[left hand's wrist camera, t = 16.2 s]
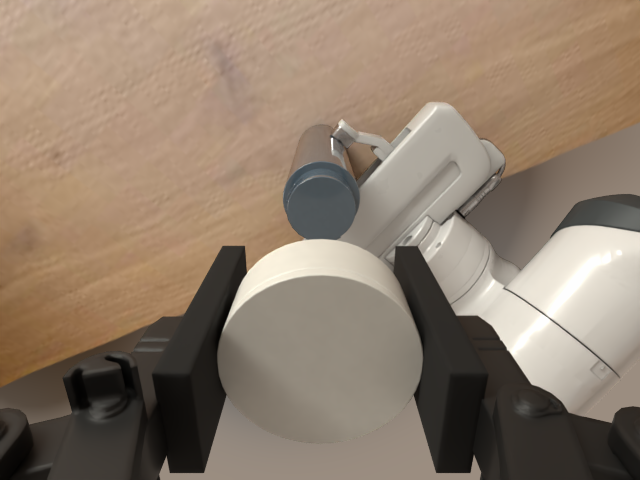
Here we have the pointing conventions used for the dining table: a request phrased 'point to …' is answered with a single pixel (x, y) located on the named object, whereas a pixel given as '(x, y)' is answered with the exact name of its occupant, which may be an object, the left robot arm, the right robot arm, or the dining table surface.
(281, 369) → the lid
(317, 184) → the bottle
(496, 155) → the right robot arm
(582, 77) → the dining table surface
